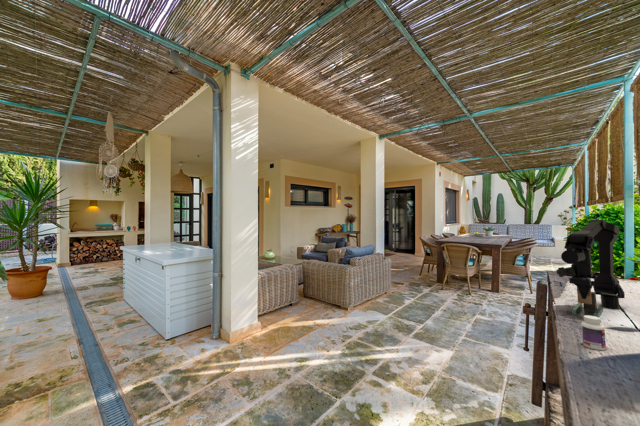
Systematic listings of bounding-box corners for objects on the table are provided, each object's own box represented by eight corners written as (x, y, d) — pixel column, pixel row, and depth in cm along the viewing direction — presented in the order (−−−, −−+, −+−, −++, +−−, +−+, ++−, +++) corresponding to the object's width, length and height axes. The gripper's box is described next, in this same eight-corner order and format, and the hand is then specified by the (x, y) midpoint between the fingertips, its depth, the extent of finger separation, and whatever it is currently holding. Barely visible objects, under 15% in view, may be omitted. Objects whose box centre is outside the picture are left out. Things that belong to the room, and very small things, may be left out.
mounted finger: (584, 307, 124) (583, 290, 124) (597, 309, 120) (595, 292, 121) (583, 309, 122) (582, 291, 122) (596, 311, 119) (594, 293, 119)
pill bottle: (609, 352, 84) (606, 321, 85) (585, 348, 87) (583, 318, 87) (602, 345, 89) (600, 316, 89) (580, 342, 91) (578, 313, 92)
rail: (579, 308, 125) (578, 302, 126) (603, 312, 119) (603, 306, 119) (572, 316, 116) (572, 309, 116) (598, 321, 110) (597, 313, 110)
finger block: (579, 301, 117) (577, 282, 117) (592, 303, 114) (590, 284, 114) (578, 302, 115) (576, 284, 116) (591, 304, 112) (589, 285, 112)
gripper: (562, 258, 127) (564, 291, 127) (552, 262, 116) (555, 298, 115) (595, 260, 119) (598, 295, 118) (588, 265, 107) (591, 303, 106)
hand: (584, 298), depth 115 cm, fingers closed on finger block, 3 cm apart
